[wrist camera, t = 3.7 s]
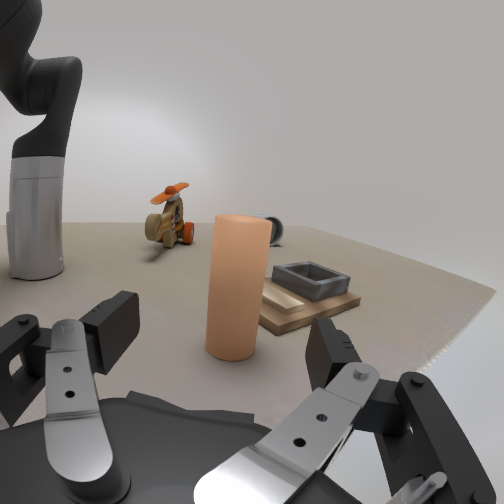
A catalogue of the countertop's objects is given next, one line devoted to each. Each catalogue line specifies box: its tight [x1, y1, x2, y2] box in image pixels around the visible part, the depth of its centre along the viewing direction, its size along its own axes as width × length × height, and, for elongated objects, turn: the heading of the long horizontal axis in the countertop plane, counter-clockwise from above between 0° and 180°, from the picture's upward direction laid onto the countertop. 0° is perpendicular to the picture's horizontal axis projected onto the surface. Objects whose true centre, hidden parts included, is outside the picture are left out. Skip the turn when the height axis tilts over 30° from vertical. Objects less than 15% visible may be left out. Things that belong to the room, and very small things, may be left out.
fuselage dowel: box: [206, 214, 272, 361], centre depth 24 cm, size 5×5×12 cm
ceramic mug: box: [254, 214, 283, 246], centre depth 72 cm, size 11×8×8 cm
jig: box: [258, 262, 361, 336], centre depth 38 cm, size 17×12×4 cm
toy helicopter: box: [145, 183, 194, 248], centre depth 54 cm, size 8×21×14 cm, turn 1°
